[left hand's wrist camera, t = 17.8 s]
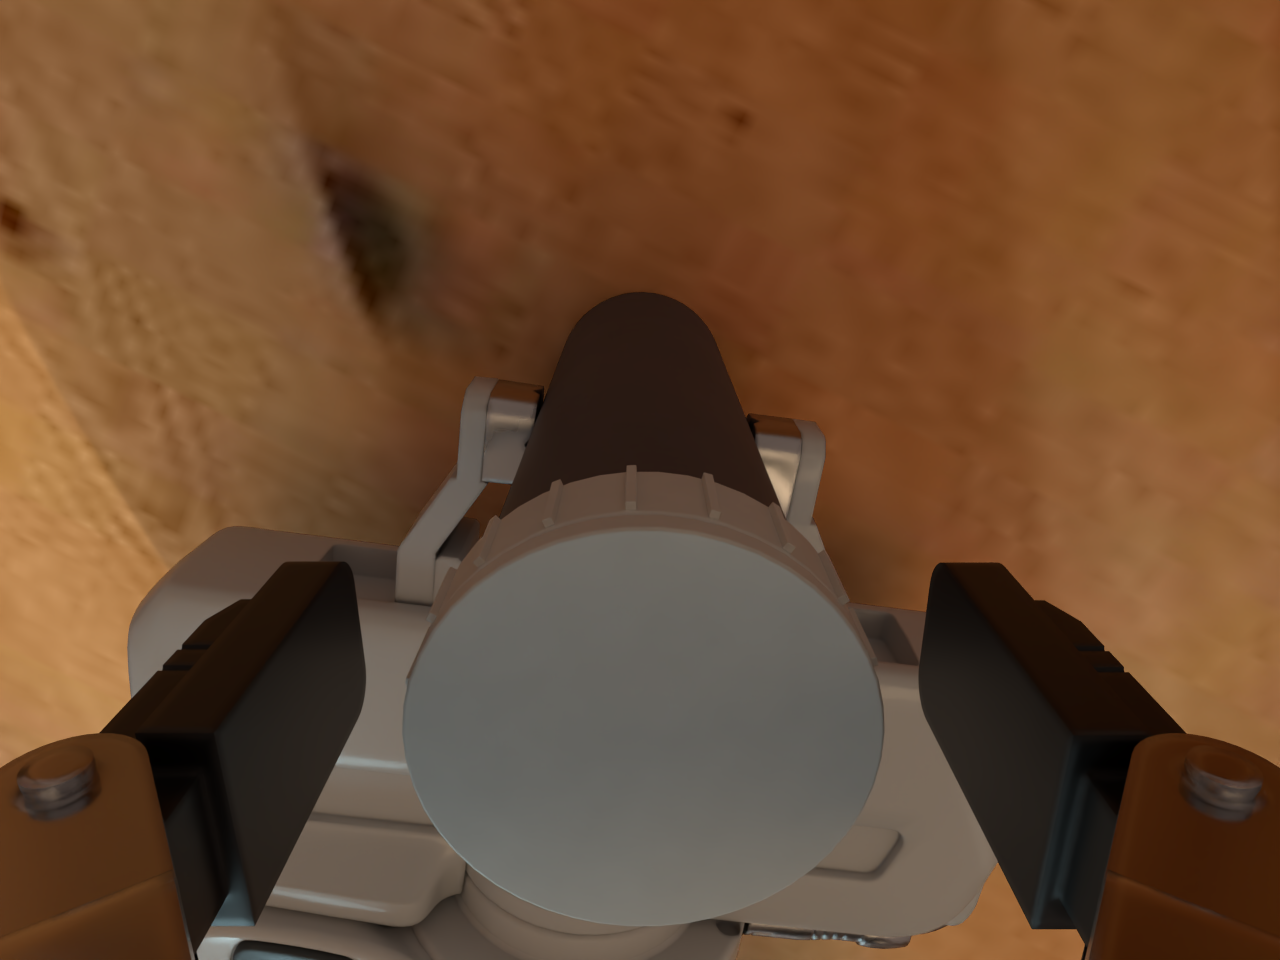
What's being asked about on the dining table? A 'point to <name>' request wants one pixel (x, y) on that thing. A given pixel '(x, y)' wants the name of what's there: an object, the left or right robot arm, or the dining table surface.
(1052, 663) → the left robot arm
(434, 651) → the lid
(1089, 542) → the dining table surface
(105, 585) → the dining table surface
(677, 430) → the dark brown cylinder
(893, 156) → the dining table surface
